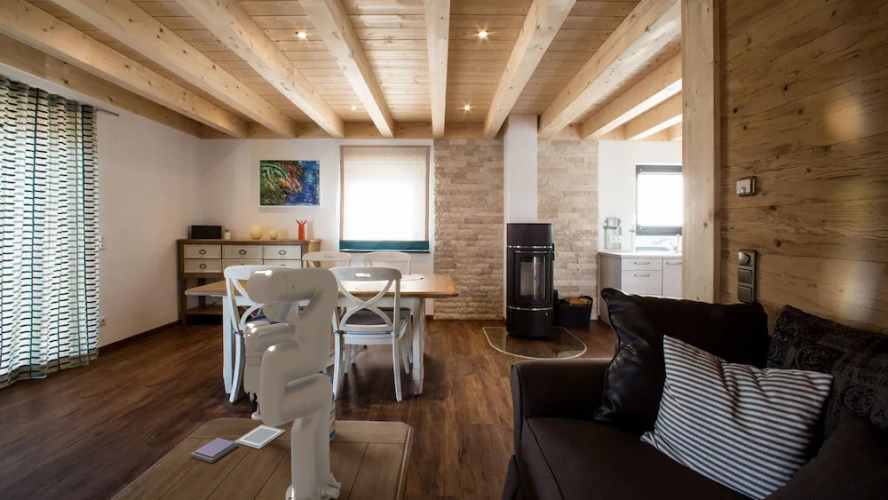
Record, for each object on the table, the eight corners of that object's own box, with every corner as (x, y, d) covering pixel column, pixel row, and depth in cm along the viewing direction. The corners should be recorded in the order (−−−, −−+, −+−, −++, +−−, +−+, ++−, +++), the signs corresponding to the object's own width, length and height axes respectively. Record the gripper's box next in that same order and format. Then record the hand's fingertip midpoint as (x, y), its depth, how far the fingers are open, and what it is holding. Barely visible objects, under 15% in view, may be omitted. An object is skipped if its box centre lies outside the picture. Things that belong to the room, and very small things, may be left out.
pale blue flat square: (285, 431, 122) (285, 430, 122) (259, 449, 112) (259, 448, 112) (261, 425, 126) (261, 424, 126) (234, 442, 116) (234, 441, 116)
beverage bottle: (321, 428, 124) (320, 372, 123) (341, 432, 121) (340, 376, 120) (303, 441, 116) (302, 382, 115) (324, 446, 113) (324, 386, 113)
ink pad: (238, 446, 114) (237, 441, 114) (211, 463, 105) (211, 458, 105) (218, 440, 117) (217, 436, 117) (190, 456, 108) (190, 452, 108)
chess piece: (261, 420, 116) (260, 391, 115) (248, 418, 117) (247, 389, 116) (271, 413, 121) (270, 384, 120) (258, 411, 122) (258, 383, 121)
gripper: (286, 357, 119) (287, 410, 120) (250, 352, 124) (251, 402, 125) (268, 365, 112) (269, 422, 113) (230, 359, 117) (232, 413, 118)
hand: (259, 411), depth 119 cm, fingers closed on chess piece
